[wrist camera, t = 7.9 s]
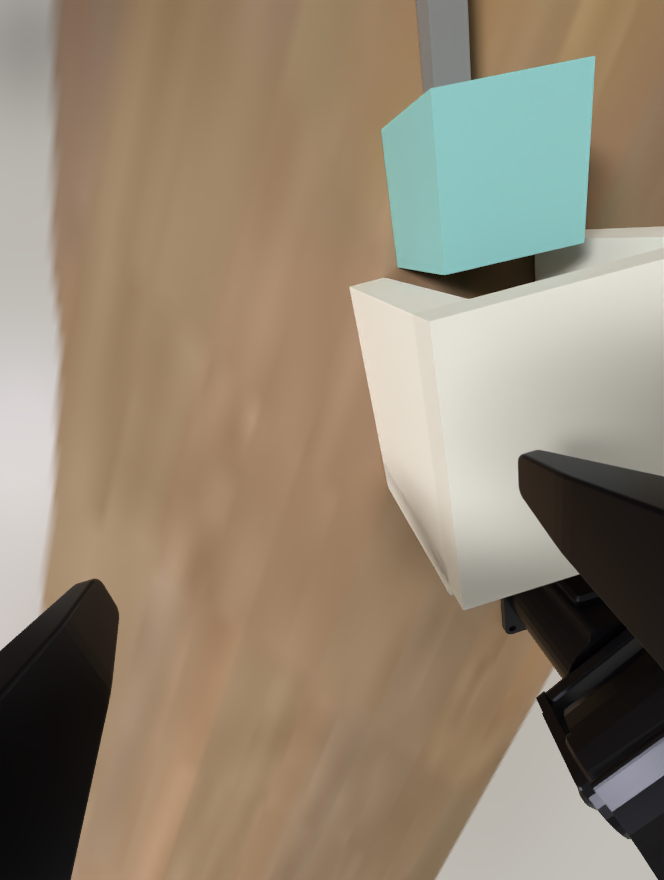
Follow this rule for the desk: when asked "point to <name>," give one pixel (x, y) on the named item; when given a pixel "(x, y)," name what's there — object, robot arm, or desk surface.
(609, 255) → the white box
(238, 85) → the desk surface
